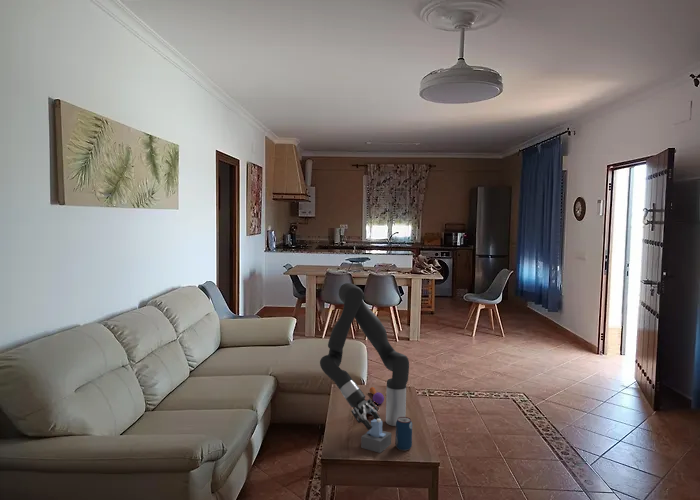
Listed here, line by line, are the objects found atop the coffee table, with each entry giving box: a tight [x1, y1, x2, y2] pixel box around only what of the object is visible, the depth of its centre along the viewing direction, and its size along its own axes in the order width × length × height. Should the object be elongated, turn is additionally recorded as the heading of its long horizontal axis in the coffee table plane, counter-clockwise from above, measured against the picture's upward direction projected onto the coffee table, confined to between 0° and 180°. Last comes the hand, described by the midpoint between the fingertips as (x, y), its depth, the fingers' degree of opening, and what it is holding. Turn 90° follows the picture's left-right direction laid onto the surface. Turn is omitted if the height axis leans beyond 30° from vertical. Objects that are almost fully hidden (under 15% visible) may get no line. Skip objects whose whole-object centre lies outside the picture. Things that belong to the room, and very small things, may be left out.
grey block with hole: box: [360, 430, 392, 454], centre depth 206 cm, size 10×9×5 cm
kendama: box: [369, 386, 385, 405], centre depth 263 cm, size 6×6×20 cm
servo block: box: [366, 418, 386, 438], centre depth 206 cm, size 8×3×12 cm, turn 59°
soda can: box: [394, 416, 413, 451], centre depth 205 cm, size 7×7×12 cm
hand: (375, 425), depth 206 cm, fingers open, 8 cm apart
